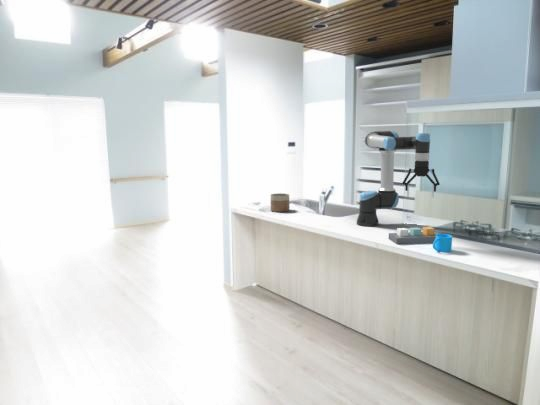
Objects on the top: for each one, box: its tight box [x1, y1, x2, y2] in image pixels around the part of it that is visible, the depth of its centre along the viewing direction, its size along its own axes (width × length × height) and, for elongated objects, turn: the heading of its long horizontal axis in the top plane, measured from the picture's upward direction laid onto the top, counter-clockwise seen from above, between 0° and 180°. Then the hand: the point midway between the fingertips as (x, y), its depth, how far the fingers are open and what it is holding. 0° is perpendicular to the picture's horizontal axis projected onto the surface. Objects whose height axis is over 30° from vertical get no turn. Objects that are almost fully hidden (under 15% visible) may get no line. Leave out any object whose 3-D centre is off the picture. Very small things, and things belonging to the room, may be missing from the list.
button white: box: [396, 227, 409, 237], centre depth 235 cm, size 5×5×4 cm
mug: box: [432, 233, 453, 253], centre depth 214 cm, size 12×8×8 cm
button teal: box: [409, 227, 423, 236], centre depth 235 cm, size 5×5×4 cm
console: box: [388, 231, 438, 245], centre depth 236 cm, size 12×28×4 cm, turn 95°
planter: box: [270, 192, 290, 213], centre depth 336 cm, size 16×16×14 cm
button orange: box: [422, 226, 435, 236], centre depth 236 cm, size 5×5×4 cm
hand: (420, 196), depth 232 cm, fingers open, 13 cm apart
